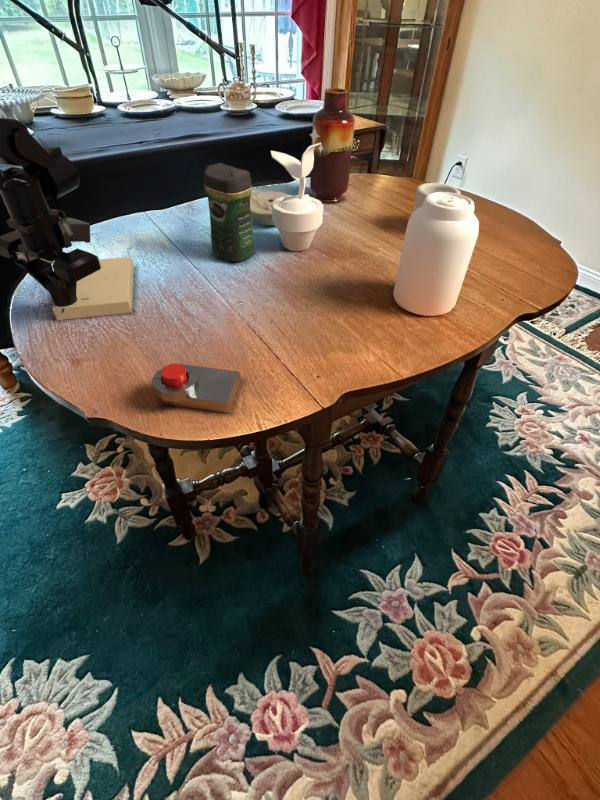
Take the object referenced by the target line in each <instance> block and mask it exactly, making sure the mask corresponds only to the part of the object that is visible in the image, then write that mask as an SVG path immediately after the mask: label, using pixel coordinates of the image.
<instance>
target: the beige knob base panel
mask: <svg viewBox="0 0 600 800" xmlns="http://www.w3.org/2000/svg"><path fill="white" fill-rule="evenodd" d="M98 259H99V262H100V265H101V269H100V270H98V271H96V272H94V273H92V274H90V275H88V276H87V277H85V278H83V279H81V280H79V281H77V287H76V296H77V301H76V302H75V303H74V304H72V305H69V306H65V307H59V306H56V305H55V304H54V303H53V305H52V311H53V314H54V316H55V319H56V320H57V321H64V320H73V319H75V320H76V319H85V318H93V317H94V318H95V317H102V316H103V317H105V316H113V315H114V316H115V315H123V314H132V313H133V312H132V308H133V294H134V293H133V292H134V288H133V287H134V273H135V266H134V262H133V259H132V256H125V257H124V256H123V257H113V258H112V257H111V258H98ZM50 302H51V301H49V300H48V301H41V302H40V304H41V305H43V304H50Z"/></svg>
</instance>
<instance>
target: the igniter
mask: <svg viewBox="0 0 600 800" xmlns="http://www.w3.org/2000/svg"><path fill="white" fill-rule="evenodd" d="M180 364H181V365H183V366H184V367H185V369H186V374H187V381H186V383H185V384H183V385H182V386H178V387H174V388H173V387H168V386H166V385H165V384H164V382H163V378H162V375H161V371H162V369H163V368H164V367H162V368H160V369H158V370H157V371H155V373H154V375H153V377H152V379H151V381H152V386H153V390H154V393H155V396H156V397H158V398H159V399H161V400H162V404H163V405H166V406H167V405H168V406H173V407H181V408H190V409H195V410H196V409H197V410H203V411H210V412H217V413H225V414H229V413H230V411H231V408H232V406H233V403H234V401H235V397H236V395H237V393H238V390H239V388H240V385H241V372H240V371H237V370H230V369H224V368H223V369H222V368H215V367H207V366H199V365H192V364H191V365H190V364H184V363H180Z"/></svg>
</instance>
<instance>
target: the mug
mask: <svg viewBox="0 0 600 800" xmlns="http://www.w3.org/2000/svg"><path fill="white" fill-rule="evenodd" d="M435 192H452V193H457V194H461V190H460V189H458V188H457V187H455V186H453V185H450V184H446V183H440V182H426V183H422V184H420V185H418V186H417V187H416V190H415V198H414V203H413V207H412V211H411V214H412V213H413V211H415V210H416V209H418V208H419V207H421V206H422V205H423V202H424V199H425V198H426V196H427V195H429V194H431V193H435ZM461 195H462V194H461Z"/></svg>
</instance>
